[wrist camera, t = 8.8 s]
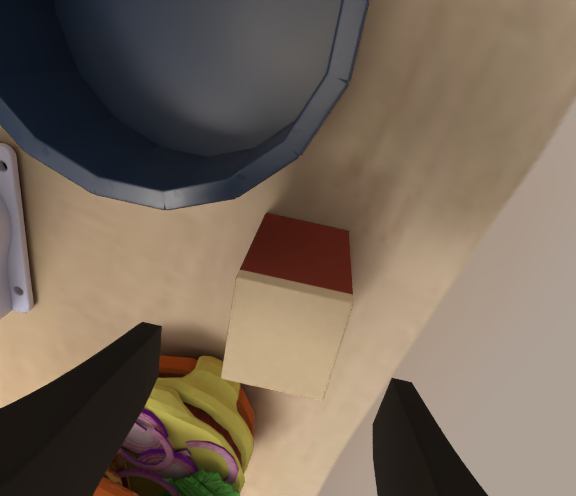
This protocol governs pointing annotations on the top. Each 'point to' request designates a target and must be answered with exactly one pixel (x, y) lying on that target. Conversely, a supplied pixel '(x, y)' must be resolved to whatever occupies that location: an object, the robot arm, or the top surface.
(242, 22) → the pot
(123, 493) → the cheeseburger
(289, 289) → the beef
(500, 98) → the top surface
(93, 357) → the robot arm
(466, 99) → the top surface
